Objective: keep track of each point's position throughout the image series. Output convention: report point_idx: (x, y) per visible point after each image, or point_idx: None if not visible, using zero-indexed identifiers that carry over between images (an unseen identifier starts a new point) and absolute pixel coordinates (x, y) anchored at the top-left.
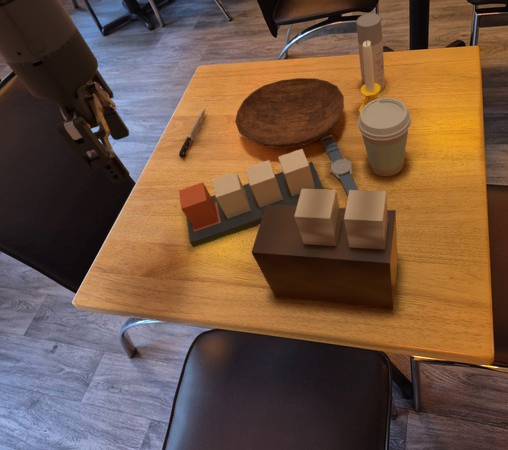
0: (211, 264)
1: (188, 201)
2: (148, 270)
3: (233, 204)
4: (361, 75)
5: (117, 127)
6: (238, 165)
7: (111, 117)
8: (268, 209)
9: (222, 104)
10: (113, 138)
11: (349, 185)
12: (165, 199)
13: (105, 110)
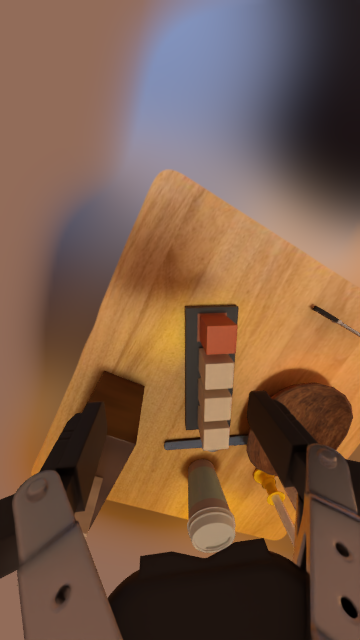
0: (157, 322)
1: (214, 335)
2: (174, 255)
3: (201, 367)
4: None
5: (263, 432)
6: (267, 361)
7: (281, 466)
8: (128, 445)
9: None
10: (253, 393)
11: (190, 444)
12: (264, 281)
13: (303, 489)
